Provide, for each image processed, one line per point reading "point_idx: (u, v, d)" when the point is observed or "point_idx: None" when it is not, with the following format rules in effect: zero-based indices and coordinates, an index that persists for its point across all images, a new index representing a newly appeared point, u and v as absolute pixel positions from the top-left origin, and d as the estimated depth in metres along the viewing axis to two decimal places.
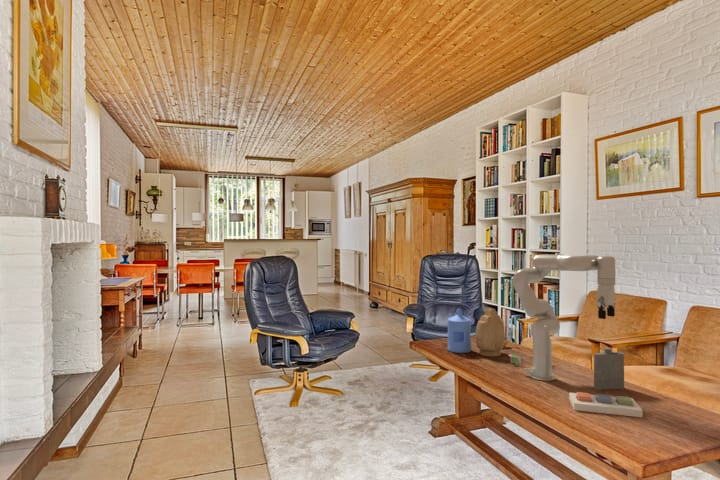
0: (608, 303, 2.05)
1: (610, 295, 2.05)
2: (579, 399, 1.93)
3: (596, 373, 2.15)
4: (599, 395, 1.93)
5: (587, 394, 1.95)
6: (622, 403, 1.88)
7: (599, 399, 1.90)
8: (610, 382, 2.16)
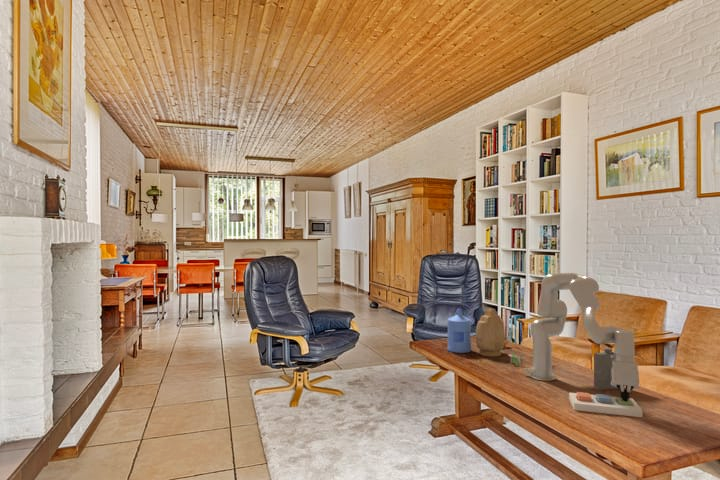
0: None
1: None
2: (579, 399, 1.93)
3: (596, 373, 2.15)
4: (599, 395, 1.93)
5: (587, 394, 1.95)
6: (622, 404, 1.88)
7: (599, 399, 1.90)
8: (610, 382, 2.16)
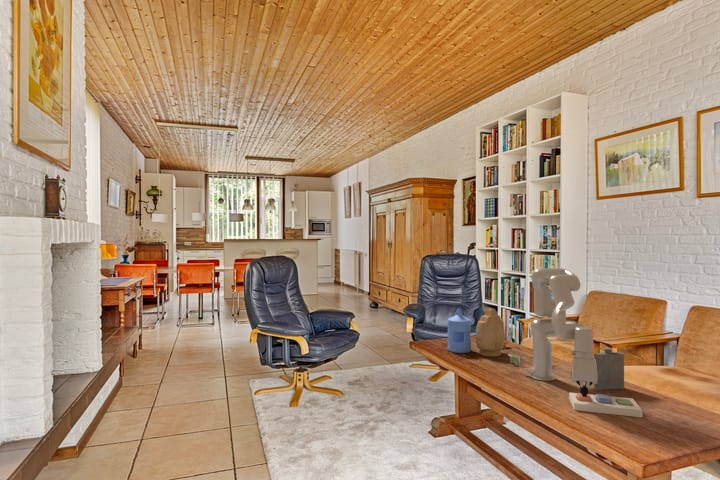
0: None
1: None
2: (579, 400, 1.93)
3: None
4: (599, 395, 1.93)
5: (587, 395, 1.95)
6: None
7: (599, 399, 1.90)
8: (610, 382, 2.16)
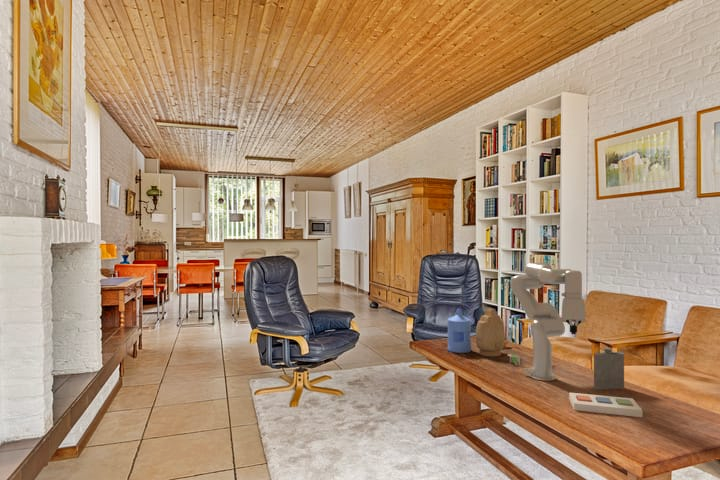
0: None
1: None
2: None
3: (596, 373, 2.15)
4: (599, 398, 1.93)
5: (587, 397, 1.95)
6: None
7: (599, 402, 1.90)
8: (610, 382, 2.16)
